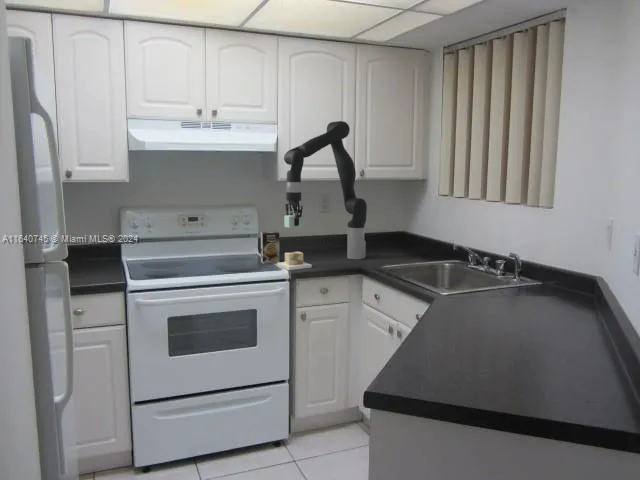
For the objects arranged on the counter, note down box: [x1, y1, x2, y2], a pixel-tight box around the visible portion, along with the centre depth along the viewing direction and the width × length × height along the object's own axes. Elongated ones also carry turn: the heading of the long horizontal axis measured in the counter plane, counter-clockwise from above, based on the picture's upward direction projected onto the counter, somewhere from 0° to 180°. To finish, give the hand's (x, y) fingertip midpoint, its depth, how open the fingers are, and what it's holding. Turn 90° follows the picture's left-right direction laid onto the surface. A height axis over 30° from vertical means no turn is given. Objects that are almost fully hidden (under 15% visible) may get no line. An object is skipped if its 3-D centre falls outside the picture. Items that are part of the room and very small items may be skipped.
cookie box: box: [260, 231, 280, 265], centre depth 278 cm, size 9×6×16 cm
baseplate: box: [276, 261, 313, 271], centre depth 269 cm, size 13×13×2 cm
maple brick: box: [284, 251, 304, 265], centre depth 268 cm, size 8×5×6 cm, turn 122°
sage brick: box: [283, 215, 304, 229], centre depth 266 cm, size 8×5×6 cm, turn 122°
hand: (293, 225), depth 266 cm, fingers closed on sage brick, 5 cm apart
